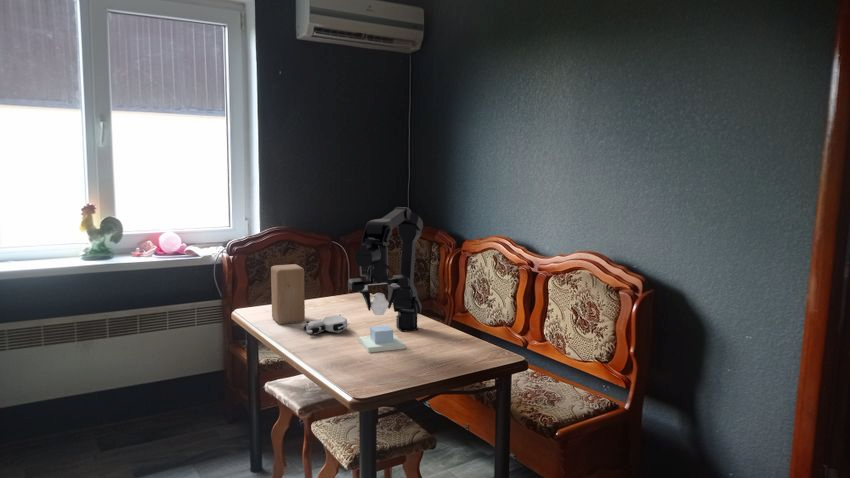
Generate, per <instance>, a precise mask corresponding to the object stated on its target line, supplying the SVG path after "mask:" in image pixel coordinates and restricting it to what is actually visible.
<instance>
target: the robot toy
mask: <svg viewBox="0 0 850 478" xmlns="http://www.w3.org/2000/svg"><path fill="white" fill-rule="evenodd" d="M349 325H350V323H349V322H348V319H347V318H346V317H344V316H343V315H341V314H336V315H331V316H326V317H324V318H323V319H322V320H321V319H314V320H313V319H312V320H310V321H306V322H302V324H301V326H302V327H303V330H304V331H305V332H306V333H308V334H311V335H312V334H313V335H317V334H320V333H323V332H324V331H327V332H331V333H335V334H339V333H341V332H343V331H345V330H346V329H347V328H348V326H349Z"/></svg>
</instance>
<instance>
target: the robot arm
mask: <svg viewBox="0 0 850 478" xmlns="http://www.w3.org/2000/svg"><path fill="white" fill-rule="evenodd" d="M395 228H397V235H398V236H399V239H400V240H401V254H400V255H401V256H400V269H399V270H400V274H393V276H392V278H389V269H390V267H389V266H390V265H389V263H388V262H389V259H388V257H389V256H388V252H389V249H388V247H389V245H390V241H389V240H390V238H391V236H392V235H393V230H394V229H395ZM423 229H424V222H423V220H422V218H421V217H420V215H418V214H417V213H415V212H413V211H412V210H411V208H409V207H406V206H405V207H404V206H403V207H401V206H396V207H394V208H393V210H392V211H390V212H389V213H388V214H386V215H384V216H383V217H382V218H377V219H375V218H374V219H372V220H369V221H368V222H367V223H366V225H365V227H364V230H363V234H362V237H361V240H360V248H359V249H357V250H356V252H355V255H354V258H355V260H354V261H355V262H356V264H357V265H358V266H359V276H360V277H356V278H349V279H348V281H347V288H348V289H349V290H350V291H351V292H358V293H360V294H361V295H362V296H363V299H364V302H365V305H366V307H367V310H368V311H371V303H370V301H371V291H370V290H369V287H375V286H376V287H379V286H387V291H388V292H387V293H388V294H387V300H388V302H389V305H388V308H387V309H388V310H389V309H391V308H392V307H393V311H394V312H396V313H397V315H396V316H395V317H396V318H395V319H396V321H395V323H396V326H395V327H396V328H397V330H399V331H401V332H411V331H419V330H420V328H419V327H418V314H421V313H422V306H423V305H422V303H421V301H420V299H419V296H418V290H417V288H416V286H415V284H414V281H415V265H416V247H417V245H416V244H417V242H418V240H419V239H420V237H421V236H422V231H423ZM361 277H365V280H364V279H362V278H361Z"/></svg>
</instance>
